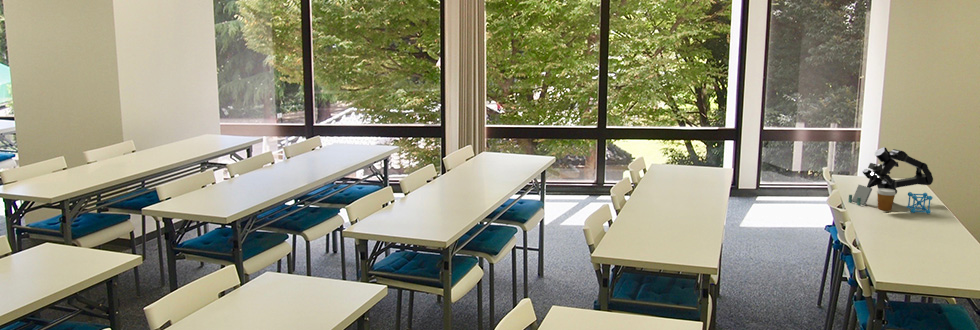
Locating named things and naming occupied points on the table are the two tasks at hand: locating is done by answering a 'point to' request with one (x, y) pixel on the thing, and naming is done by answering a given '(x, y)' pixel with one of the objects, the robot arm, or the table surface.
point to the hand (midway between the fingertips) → (867, 187)
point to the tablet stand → (857, 200)
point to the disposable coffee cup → (885, 199)
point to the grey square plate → (862, 194)
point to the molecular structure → (919, 202)
